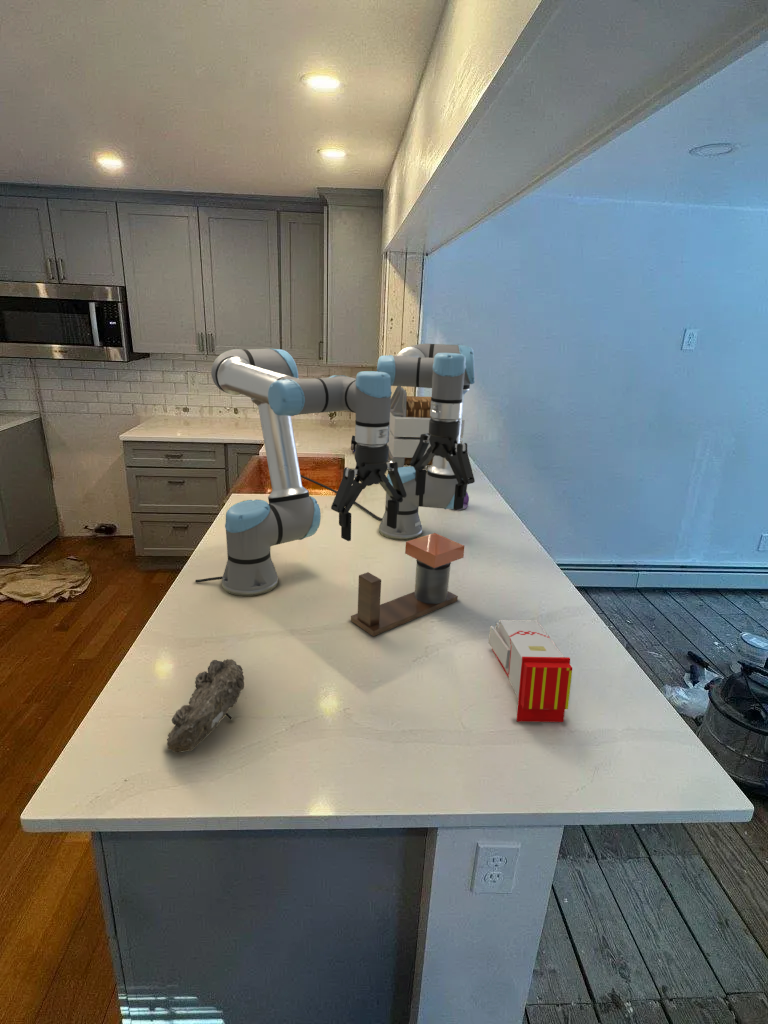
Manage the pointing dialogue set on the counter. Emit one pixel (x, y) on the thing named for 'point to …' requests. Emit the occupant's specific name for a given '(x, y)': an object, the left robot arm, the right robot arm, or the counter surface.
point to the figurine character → (353, 443)
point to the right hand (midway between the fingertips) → (438, 501)
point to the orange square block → (434, 550)
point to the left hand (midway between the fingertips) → (369, 533)
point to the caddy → (402, 599)
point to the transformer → (408, 426)
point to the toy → (533, 669)
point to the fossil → (206, 705)
